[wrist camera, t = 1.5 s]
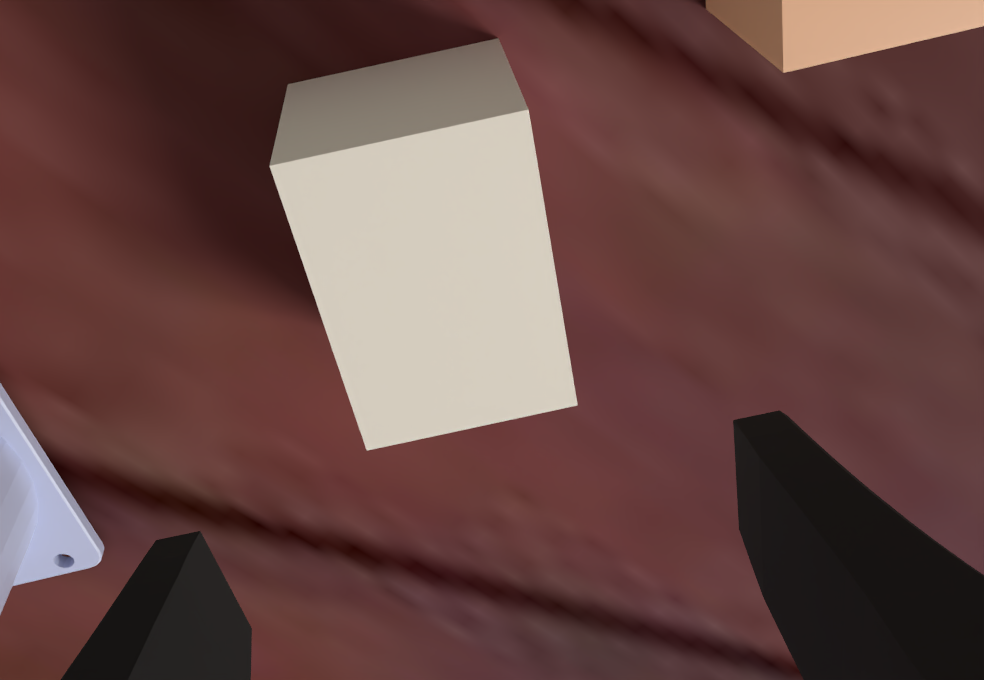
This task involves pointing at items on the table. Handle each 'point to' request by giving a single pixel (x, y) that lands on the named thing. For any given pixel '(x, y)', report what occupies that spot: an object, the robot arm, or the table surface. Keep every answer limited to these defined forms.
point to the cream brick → (426, 241)
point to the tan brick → (840, 26)
